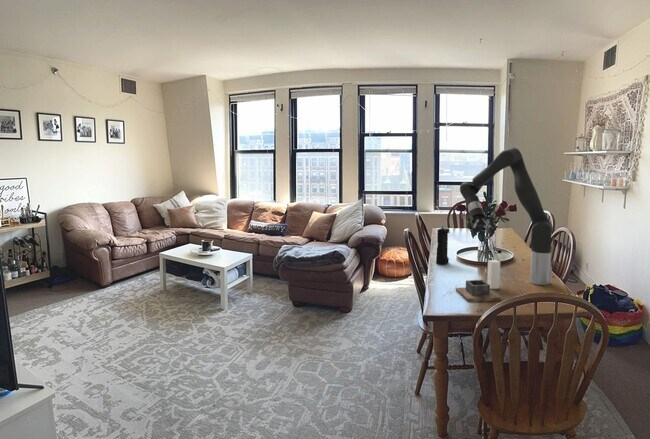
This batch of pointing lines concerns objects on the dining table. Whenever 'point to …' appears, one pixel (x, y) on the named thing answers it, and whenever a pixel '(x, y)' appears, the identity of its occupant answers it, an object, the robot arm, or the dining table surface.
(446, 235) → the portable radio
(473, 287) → the square socket base
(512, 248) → the dining table surface
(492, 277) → the plug block
